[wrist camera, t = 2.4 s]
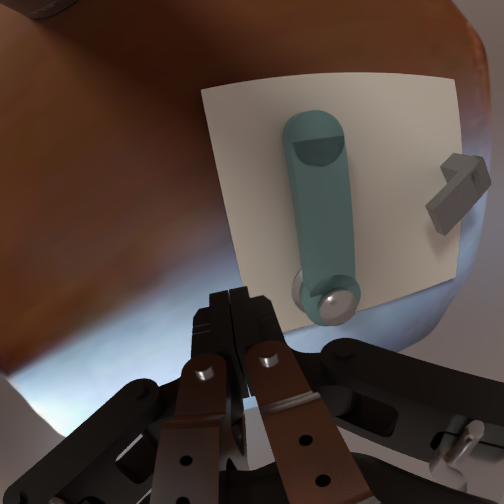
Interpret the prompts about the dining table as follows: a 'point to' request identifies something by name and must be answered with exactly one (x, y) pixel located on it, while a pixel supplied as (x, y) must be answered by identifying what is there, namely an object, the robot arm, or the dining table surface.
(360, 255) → the base board
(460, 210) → the grey angled pieces
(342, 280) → the teal link bar
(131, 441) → the robot arm
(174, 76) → the dining table surface
